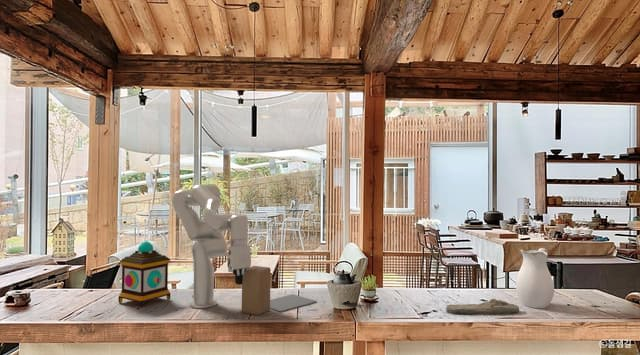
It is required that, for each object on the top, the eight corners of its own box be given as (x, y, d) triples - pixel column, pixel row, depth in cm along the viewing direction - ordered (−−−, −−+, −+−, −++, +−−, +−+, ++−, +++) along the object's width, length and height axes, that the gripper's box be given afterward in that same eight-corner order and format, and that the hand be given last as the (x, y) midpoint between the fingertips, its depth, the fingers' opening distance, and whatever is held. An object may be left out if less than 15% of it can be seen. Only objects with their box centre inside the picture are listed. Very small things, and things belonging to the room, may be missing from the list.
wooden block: (270, 310, 194) (271, 267, 194) (259, 316, 185) (259, 271, 185) (253, 307, 198) (253, 265, 199) (240, 312, 189) (241, 269, 190)
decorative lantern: (140, 310, 192) (141, 245, 193) (113, 303, 202) (114, 241, 203) (174, 299, 209) (175, 240, 210) (148, 294, 219) (149, 237, 220)
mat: (256, 304, 203) (256, 303, 203) (292, 295, 220) (292, 294, 220) (280, 312, 190) (280, 311, 190) (316, 302, 208) (316, 301, 208)
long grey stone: (442, 312, 199) (450, 320, 189) (441, 301, 198) (450, 308, 188) (512, 307, 201) (523, 314, 191) (512, 296, 201) (523, 303, 191)
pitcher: (545, 312, 194) (545, 253, 195) (509, 304, 207) (509, 248, 207) (564, 303, 210) (564, 248, 210) (529, 296, 223) (529, 244, 223)
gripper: (229, 245, 177) (229, 288, 176) (257, 241, 188) (257, 282, 187) (219, 243, 182) (219, 285, 182) (247, 240, 193) (247, 280, 192)
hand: (238, 283), depth 184 cm, fingers closed
